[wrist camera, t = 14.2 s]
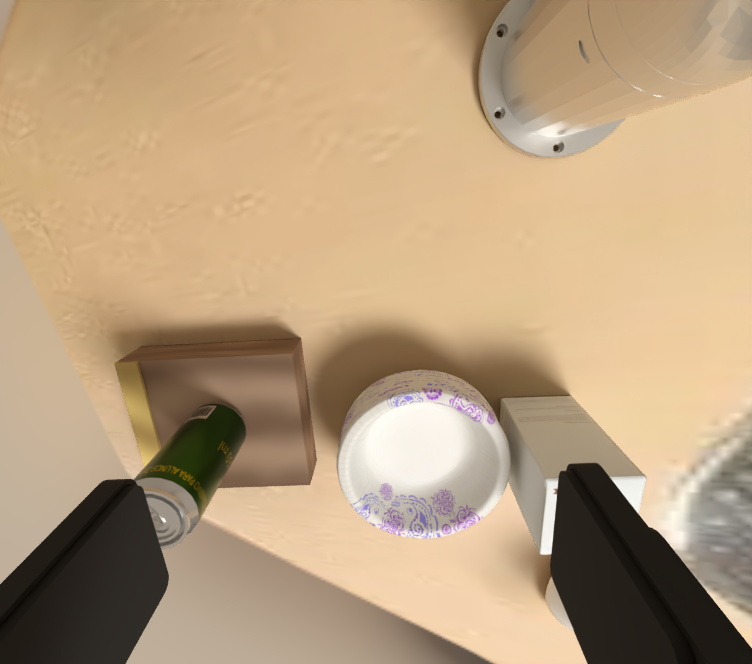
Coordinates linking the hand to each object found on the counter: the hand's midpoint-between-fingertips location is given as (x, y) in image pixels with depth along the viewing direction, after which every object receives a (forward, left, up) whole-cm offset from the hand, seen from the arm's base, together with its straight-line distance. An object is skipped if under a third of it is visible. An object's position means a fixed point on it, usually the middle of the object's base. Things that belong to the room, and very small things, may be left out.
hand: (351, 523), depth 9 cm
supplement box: (+17, +15, -31) cm, 38 cm away
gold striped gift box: (+13, -16, -30) cm, 37 cm away
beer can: (+13, -16, -26) cm, 33 cm away
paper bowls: (+16, +3, -31) cm, 35 cm away
